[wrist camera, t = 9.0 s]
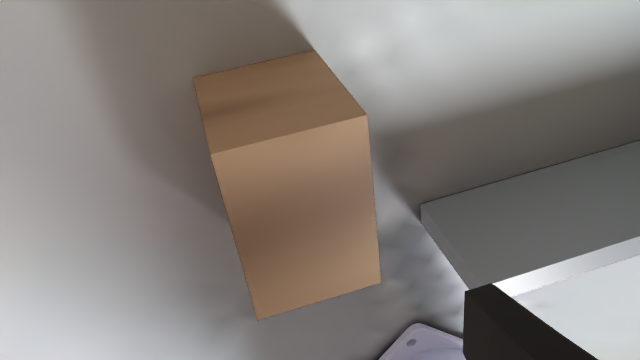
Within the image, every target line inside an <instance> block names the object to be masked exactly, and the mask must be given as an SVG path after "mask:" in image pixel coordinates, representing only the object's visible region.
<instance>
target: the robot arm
mask: <svg viewBox="0 0 640 360" xmlns="http://www.w3.org/2000/svg"><path fill="white" fill-rule="evenodd" d="M379 360H598V359H597V358H595V357H594V356H592V355H591V354H589V353H588V352H586V351H585V350H583V349H582V348H580V347H579V346H577V345H576V344H575V343H573V342H572V341H570V340H569V339H567V338H566V337H564V336H563V335H562V334H560V333H559V332H557V331H556V330H555V329H553V328H552V327H550V326H549V325H548V324H546V323H545V322H543V321H542V320H541V319H539V318H538V317H537V316H535V315H534V314H533V313H531V312H530V311H529V310H527V309H526V308H524V307H523V306H522V305H520V304H519V303H518V302H516V301H515V300H514V299H512V298H511V297H510V296H508V295H507V294H506V293H504V292H503V291H502V290H501V289H499V288H498V287H497V286H495V285H493V284H492V283H490V284H487V285H483V286H480V287H477V288H474V289H471V290H468V291H465V302H464V329H463V339H461V338H458V337H456V336H453V335H450V334H448V333H445V332H442V331H440V330H437V329H434V328H432V327H429V326H427V325H424V324H421V323H416V324H413V325H411V326H410V327H408V328H407V329H406V331H405V332H404V333H403V334H402V335H401V336H400V337H399V338H398V339H397V340H396V341H395V342H394V343H393V344H392V346H391V347H390V348H389V349H388V350H387V351H386V352H385V353H384V354H383V355H382V356H381V357H380V358H379Z"/></svg>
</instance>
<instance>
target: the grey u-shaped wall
mask: <svg viewBox="0 0 640 360" xmlns="http://www.w3.org/2000/svg"><path fill="white" fill-rule="evenodd" d="M420 212H421V224H422V225H423V226H424V228H425V229H426V231H427V232H428V233H429V235H430V236H431V238H432V239H433V240H434V242H435V243H436V244H437V246H438V247H439V249H440V250H441V251H442V253H443V254H444V255H445V257H446V258H447V260H448V261H449V262H450V264H451V265H452V266H453V268H454V269H455V271H456V272H457V273H458V275H459V276H460V277H461V279H462V280H463V282H464V283H465V284H466V286H467V287H468V288H469V290H471V289H474V288H477V287H480V286H483V285H487V284H490V283H492V284H493V285H495V286H497V287H498V288H499V289H501V290H502V291H503V292H504V293H506V294H507V295H508V296H510V297H513V296H516V295H519V294H522V293H525V292H528V291H531V290H534V289H537V288H540V287H544V286H547V285H550V284H553V283H556V282H559V281H562V280H565V279H568V278H571V277H574V276H577V275H580V274H583V273H586V272H589V271H592V270H595V269H598V268H601V267H604V266H607V265H610V264H613V263H616V262H619V261H622V260H625V259H629V258H632V257H635V256H638V255H640V141H636V142H633V143H629V144H626V145H622V146H619V147H616V148H612V149H609V150H605V151H602V152H598V153H595V154H591V155H588V156H585V157H581V158H578V159H574V160H571V161H567V162H564V163H560V164H557V165H554V166H550V167H547V168H543V169H540V170H536V171H533V172H530V173H526V174H523V175H519V176H516V177H512V178H509V179H505V180H502V181H499V182H495V183H492V184H488V185H485V186H481V187H478V188H474V189H471V190H468V191H464V192H461V193H457V194H454V195H450V196H447V197H444V198H440V199H437V200H433V201H430V202H426V203H423V204H420Z"/></svg>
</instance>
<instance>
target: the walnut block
mask: <svg viewBox="0 0 640 360" xmlns="http://www.w3.org/2000/svg"><path fill="white" fill-rule="evenodd" d="M193 81H194V86H195V90H196V95H197V99H198V103H199V108H200V112H201V116H202V121H203V125H204V129H205V134H206V138H207V142H208V147H209V151H210V155H211V159H212V162H213V166H214V169H215V173H216V176H217V180H218V183H219V187H220V190H221V194H222V197H223V201H224V204H225V208H226V211H227V215H228V218H229V222H230V225H231V229H232V232H233V236H234V240H235V243H236V247H237V250H238V254H239V257H240V261H241V264H242V268H243V271H244V275H245V278H246V282H247V285H248V289H249V292H250V296H251V299H252V303H253V306H254V310H255V313H256V317H257V320H258V321H259V320H262V319H265V318H268V317H272V316H275V315H278V314H281V313H285V312H288V311H291V310H294V309H298V308H301V307H304V306H307V305H311V304H314V303H317V302H321V301H324V300H327V299H330V298H334V297H337V296H340V295H343V294H347V293H350V292H353V291H356V290H360V289H363V288H366V287H370V286H373V285H376V284H379V283H381V274H380V262H379V250H378V238H377V226H376V214H375V202H374V190H373V178H372V166H371V154H370V142H369V130H368V117H367V114H366V113H365V111H364V110H363V109H362V108H361V106H360V105H359V104H358V103H357V102H356V100H355V99H354V98H353V97H352V95H351V94H350V93H349V92H348V90H347V89H346V88H345V87H344V85H343V84H342V83H341V82H340V81H339V79H338V78H337V77H336V76H335V74H334V73H333V72H332V71H331V69H330V68H329V67H328V66H327V64H326V63H325V62H324V61H323V60H322V58H321V57H320V56H319V55H318V53H317V52H316V51H315V50H313V51H308V52H304V53H300V54H295V55H291V56H287V57H282V58H278V59H274V60H269V61H265V62H260V63H256V64H252V65H247V66H243V67H239V68H234V69H230V70H225V71H221V72H217V73H212V74H208V75H204V76H199V77H195V78H193Z"/></svg>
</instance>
